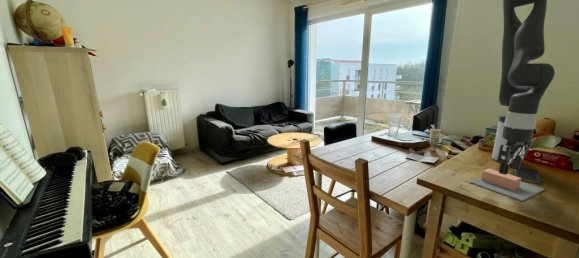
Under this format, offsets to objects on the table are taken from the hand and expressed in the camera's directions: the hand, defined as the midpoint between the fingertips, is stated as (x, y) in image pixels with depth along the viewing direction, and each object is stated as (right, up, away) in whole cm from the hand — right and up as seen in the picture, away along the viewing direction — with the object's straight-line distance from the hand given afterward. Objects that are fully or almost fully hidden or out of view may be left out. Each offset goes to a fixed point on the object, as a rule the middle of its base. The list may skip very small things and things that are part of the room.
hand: (509, 171), depth 86 cm
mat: (0, -5, +1) cm, 6 cm away
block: (+1, -4, -2) cm, 5 cm away
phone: (+16, -4, +10) cm, 19 cm away
